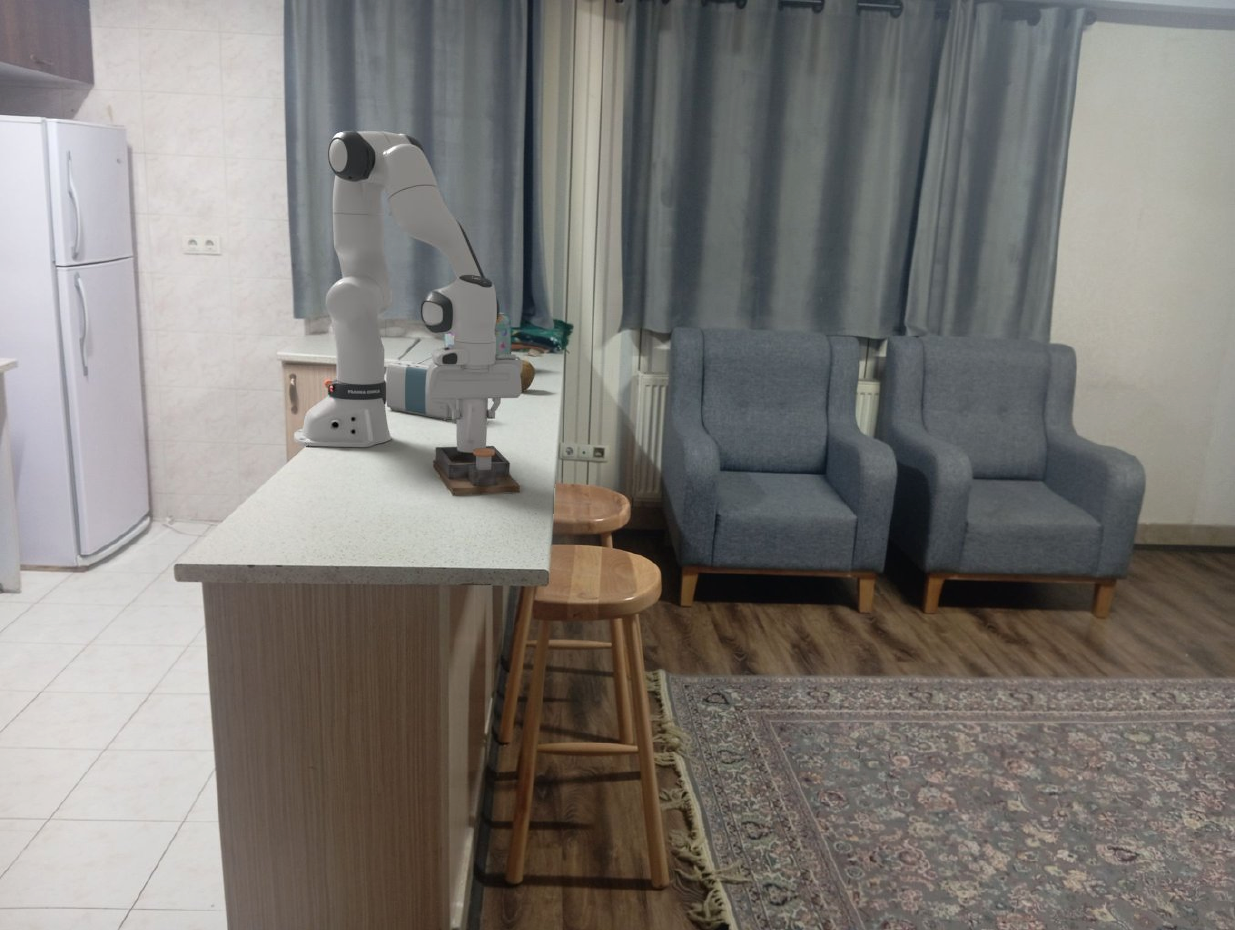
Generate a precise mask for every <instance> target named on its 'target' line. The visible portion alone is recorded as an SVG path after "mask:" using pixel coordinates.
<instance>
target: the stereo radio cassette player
mask: <svg viewBox="0 0 1235 930" xmlns="http://www.w3.org/2000/svg"><path fill="white" fill-rule="evenodd" d="M428 360H432V356H429V357H426V358H425V359H423V360H420V361H418V362H415V361H409V360H402V361H396V362H390V363H387V365H386V367H385V368H386V371H385V382H386V386H387V400H386V407H387V408H390V409H389V410H392V411H398V412H404V413H408V414H415V415H420V416H424V417H431V418H434V419H435V418H436V419H439V420H440V419H441V420H444V421H448V420H450V419H452V410H451V409H450V407H449V405H448V403H447V399H430V398H429V397H428V396H427V394H426V392H425V387H426V377H427V371H428V368H429V366H430V365H431V364H428V363H424V362H426V361H428ZM453 406H454V408H455V410H456V399H455V404H453Z"/></svg>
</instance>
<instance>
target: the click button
mask: <svg viewBox="0 0 1235 930" xmlns="http://www.w3.org/2000/svg"><path fill="white" fill-rule="evenodd" d="M473 455H475V456H476V469H477V470H491V458H492V456H494V455H495V450H494V449H491V448H476V449H473Z"/></svg>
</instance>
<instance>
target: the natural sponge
mask: <svg viewBox="0 0 1235 930" xmlns="http://www.w3.org/2000/svg"><path fill="white" fill-rule="evenodd" d="M521 360H522V372H521V373H520V377H521V389H522V392H525V391H527V390H528V389H529V388H530V386H531V385H532V384H533V382H534V379H535V376H536V370H535V367H534V365H532V363H531V362H530V361H528V360H525V359H521ZM522 392H521V393H522Z"/></svg>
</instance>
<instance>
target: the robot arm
mask: <svg viewBox="0 0 1235 930" xmlns="http://www.w3.org/2000/svg"><path fill="white" fill-rule="evenodd" d="M422 145H423V144H422V143H421V142H420V141H419V140H418V139H416V138H415V137H413V136H410V135H408V134H404V133H399V134H398V133H395V132H388V131H383V130H382V131H381V130H374V131H373V130H372V131H370V130H364V131H362V130H361V131H356V130H351V129H350V130H345V131H340V132H338V133H336V134H335V135H333V137H332V139H331V140H330V143H329V145H328V150H327V158H328V163H329V166H330V169H331V171H332V172H333V174H334V175H335V176H334V181H333V190H332V193H333V194H332V226H333V227H332V229H333V232H332V233H333V247H334V251H335V252H336V255H337V258H338V261H339V265H340V267H339V268H340V271H341V277H342V278H341V279H339V280H337V281H336V282H335V283H334V284H333V285H331V287H330V289H329V290H328V291H327V293H326V295H325V307H326V308H325V309H326V311H327V313H328V314H329V316H330V322H331V326H332V332H333V335H334V342H335V354H336V356H335V357H336V379H334V380H332V379H326V380H325V381H324V386H325V387H326V389H327V396H326V397H324V398H323V399H322V400H320V401H319V402H318V403H316V404H315V405H314V406H312V407H310V409H308V410H307V412H306V414H305V417H304V421H303V427H302V428H300V429H298V430H296V431H295V432H294V434H293V440H294V443H297V444H298V445H300V446H304V447H334V448H335V447H336V448H337V447H339V448H340V447H346V448H348V447H350V448H369V447H372V446H375V445H377V444H381V443H386V442H389V441H390V440H391V439H392V436H391V433H390V430H389V425H388V419H387V412H386V411H387V410H386V405H387V403H386V400H387V386H386V379H385V345H384V344H383V341H382V338H381V333H380V325H379V318H381V317H383V315H384V314H386V313H387V312H388V310H389V309H390V307H391V305H392V302H393V289H392V288H391V286H390V285H391V284H390V278H389V272H388V267H387V263H386V261H387V260H386V256H385V251H384V250H385V249H384V231H383V230H384V227H383V205H382V204H383V203H382V194H383V190H384V189H385V193H386V197H387V201H388V204H389V208H390V211H391V215H392V217H393V219H394V222H395V224H396V226H397V227H398V228H399V229H400V230H401V231H402V232H403V233H404V234H406V235H407V236H409V237H411V238H413V239H415V240H419V241H421V242H423V243H426V244H428V245H430V246H432V247H434V248H436V249H437V250H439V251H440V252H441V253H442V254H444V256H445V257H446V259H448V262H449V263H450V266H451V269H452V271H453V273H454V275H455V278H456V279H455V280H454V282H452V283H450V284H449V285H446V286H442V287H440V288H436V289H433V290H430V291H428V292H426V294H424V297H423V298H422V301H421V304H420V317H421V320H422V323H423V325H424V327H426V329H427V330H428V331H429V332H431V333H433V334H439V335H444V334H452V333H453V334H454V344H453V345H450V346H447V347H445V346H444V347H441V348H439V349H438V348H437V349H435V350H433V351H432V352H431V356H432V358H431V360H432V363H430V364H429V365H430V366H429V368H428V371H427V377H426V387H425V392H426V394H427V396H428V397H429V398H430V399H447V403H448V405H449V407H450V409H451V410H452V418H451V419H452V420H455V421H456V420H457V419H460V411H459V410H455V408H454V406H453V404H455V399H480V398H488V399H491V401H492V402H493V404H492V406H491V408H488V410H487V420H488V419H489V420H493V419H494V420H495V419H496V411H497V409H498V407H499V406H500V405H501V400H502V399H518V398H519V397H520V396H521V395H522V389H521V377H520V373H521V372H522V360H523V359H521V357H519V356H517V355H516V354H512V353H511V354H510V355H503V354H496V337H495V333H494V328H495V324H496V323H497V321H498V318H499V315H500V313H501V305H500V302H499V299H498V297H497V295H496V293H497V292H496V288H495V285H494V283H493V281H491V280H490V279H488V278H487V277H485V274H484V272H483V270H482V268H481V266H480V263H479V260H478V258H477V256H476V253H475V251H474V248H473V246H472V245H471V242H470V240H469V238H468V236H467V233H466V232H465V230H464V227H463V226H462V225H461V223H460V222H459V221H458V220H457V219H456V218H455V216H453V214H451V212H450V210H449V209H448V207H447V206H446V204H445V202H444V199H443V197H442V194H441V192H440V189H439V186H438V183H437V180H436V177H435V175H434V171H433V169H432V167H431V165H430V163H429V161H428V159H427V157H426V155H425V150H424V148H423V146H422ZM431 356H430V357H431ZM505 359H509V360H505ZM308 445H309V446H308Z"/></svg>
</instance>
